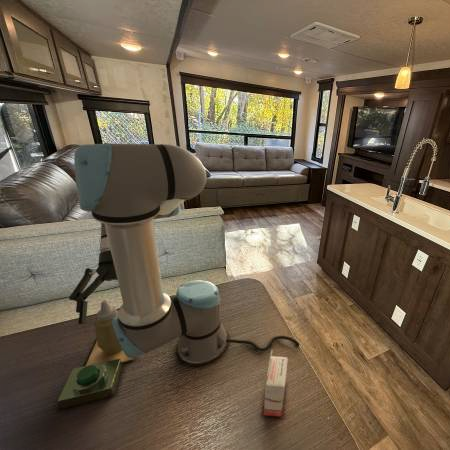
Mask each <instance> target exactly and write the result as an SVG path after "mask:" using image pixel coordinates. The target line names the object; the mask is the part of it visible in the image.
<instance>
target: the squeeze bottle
mask: <svg viewBox="0 0 450 450" xmlns="http://www.w3.org/2000/svg"><path fill="white" fill-rule="evenodd" d="M118 311H119V310H117V307H116V306H113V305H112V306H111V305H110V304H109V303H108V301H107V300H105V299H104V300H102V301H101V302H100V309H99V310H98V311H97V313H96V317H97V318H96V319H95V320H94V328H95V329H94V330H95V333H96V334H95V336H96V341H97V344H98V347H99V348H100V349H102V350H103V351H104V352H105V353H107V354H115V353H118V352H120V351H121V350H122V348H121V346H120V343H119V341H118V338H117V336H116V334H115V331H114V328H113V324H112V320H113V318H114V317H116V316H117V315H118Z"/></svg>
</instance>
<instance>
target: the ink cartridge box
mask: <svg viewBox="0 0 450 450" xmlns="http://www.w3.org/2000/svg"><path fill="white" fill-rule="evenodd" d="M288 358H289V357H285V356H275V355H273V350H271V351H270V357H269V361H268V362H269V363H268V368H267V374H266V379H265V386H264V404H263V407H264V408H263V416H270V417H280V418H281V417H282V415H283V414H282V413H283V405H284V397H285V389H286V381H287V371H288V360H289V359H288Z"/></svg>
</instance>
